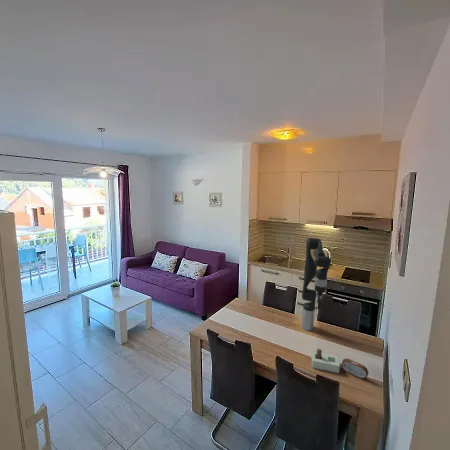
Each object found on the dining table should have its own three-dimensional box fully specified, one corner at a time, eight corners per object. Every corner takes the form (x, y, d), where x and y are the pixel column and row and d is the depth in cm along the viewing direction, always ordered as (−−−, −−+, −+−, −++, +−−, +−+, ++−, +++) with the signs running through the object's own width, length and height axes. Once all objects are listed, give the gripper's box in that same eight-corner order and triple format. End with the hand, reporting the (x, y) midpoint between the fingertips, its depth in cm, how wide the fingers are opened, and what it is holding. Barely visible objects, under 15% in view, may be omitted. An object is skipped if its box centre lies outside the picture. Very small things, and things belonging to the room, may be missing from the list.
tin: (367, 378, 154) (369, 366, 152) (366, 382, 152) (368, 369, 150) (341, 367, 163) (343, 355, 162) (340, 369, 161) (341, 358, 160)
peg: (315, 361, 168) (316, 348, 166) (320, 362, 167) (321, 349, 166) (315, 364, 165) (317, 351, 164) (320, 365, 164) (321, 352, 163)
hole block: (311, 357, 172) (312, 350, 171) (336, 362, 168) (337, 355, 167) (312, 367, 163) (312, 360, 162) (338, 373, 158) (339, 366, 157)
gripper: (314, 279, 181) (312, 300, 184) (315, 287, 168) (313, 310, 170) (325, 281, 179) (323, 302, 182) (327, 289, 166) (325, 311, 168)
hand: (318, 306), depth 176 cm, fingers open, 8 cm apart
